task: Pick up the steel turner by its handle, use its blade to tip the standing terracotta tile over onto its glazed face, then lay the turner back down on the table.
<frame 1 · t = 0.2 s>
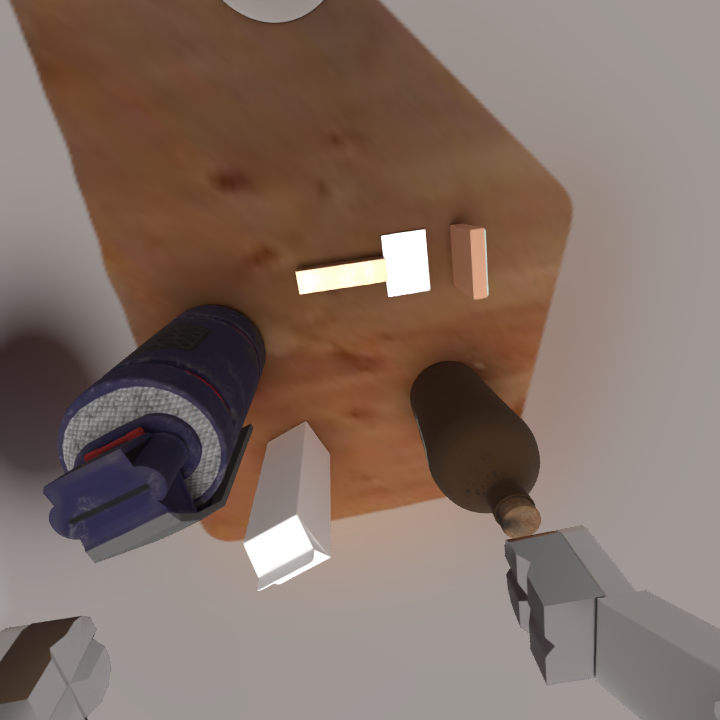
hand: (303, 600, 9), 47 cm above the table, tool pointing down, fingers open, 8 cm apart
milk: (299, 447, 61), on the table
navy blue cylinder: (221, 356, 57), on the table
turner: (367, 268, 54), on the table
tile: (458, 255, 54), on the table
olive oil: (444, 394, 60), on the table
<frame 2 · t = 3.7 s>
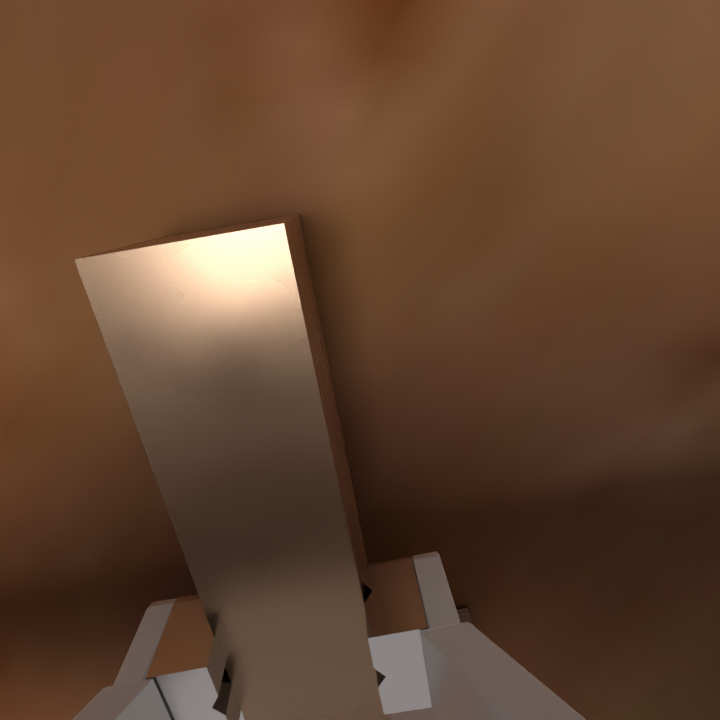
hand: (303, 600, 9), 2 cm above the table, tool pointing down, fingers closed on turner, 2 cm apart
turner: (316, 570, 11), on the table, touching gripper
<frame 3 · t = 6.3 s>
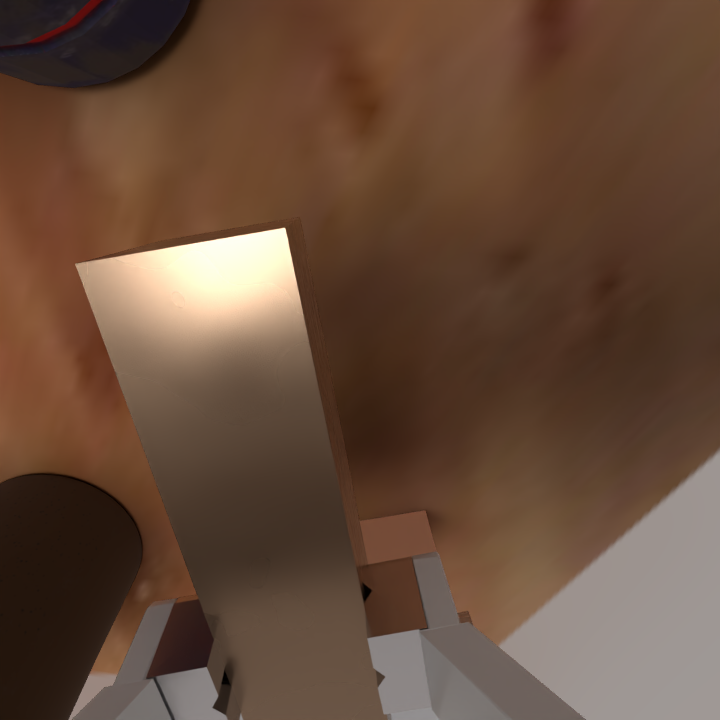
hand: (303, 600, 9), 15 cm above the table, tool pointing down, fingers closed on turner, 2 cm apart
turner: (316, 574, 11), point 14 cm above the table, touching gripper
tile: (368, 530, 27), on the table
olive oil: (61, 537, 27), on the table
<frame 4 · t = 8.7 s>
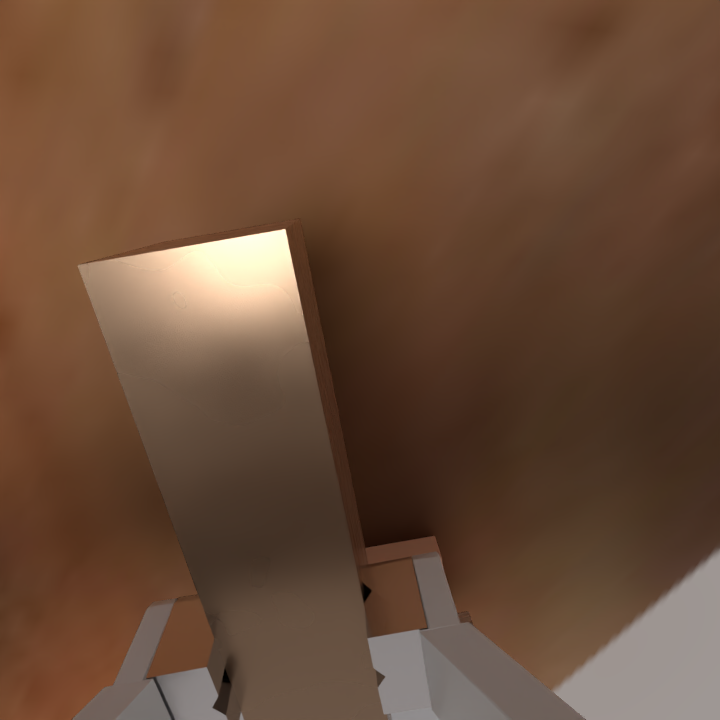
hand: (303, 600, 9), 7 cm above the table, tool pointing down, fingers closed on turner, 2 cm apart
turner: (316, 574, 11), point 5 cm above the table, touching gripper
tile: (343, 558, 17), on the table, tilted 90°
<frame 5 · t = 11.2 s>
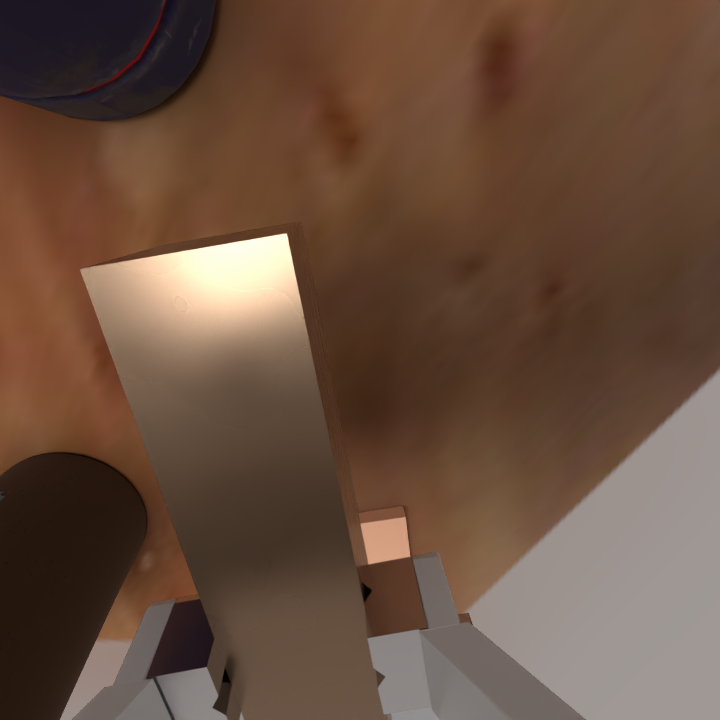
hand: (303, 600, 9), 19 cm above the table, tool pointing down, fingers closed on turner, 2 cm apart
turner: (317, 575, 11), point 17 cm above the table, touching gripper
tile: (351, 516, 31), on the table, tilted 90°
olive oil: (73, 511, 30), on the table
when the fingers open (2 cm above the table, at t = 13.7 s): turner stays where it is, on the table.
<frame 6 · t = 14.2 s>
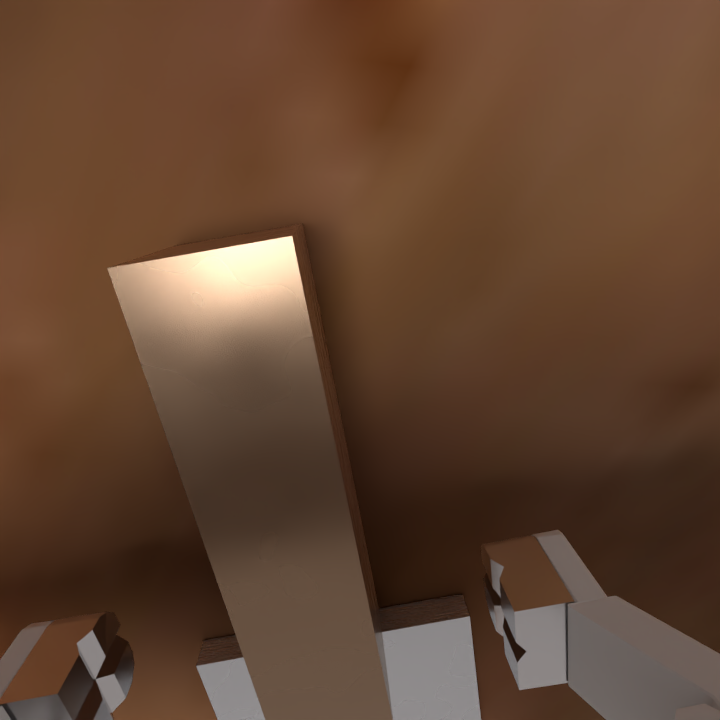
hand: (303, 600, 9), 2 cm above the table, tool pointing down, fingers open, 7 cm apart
turner: (318, 555, 12), on the table
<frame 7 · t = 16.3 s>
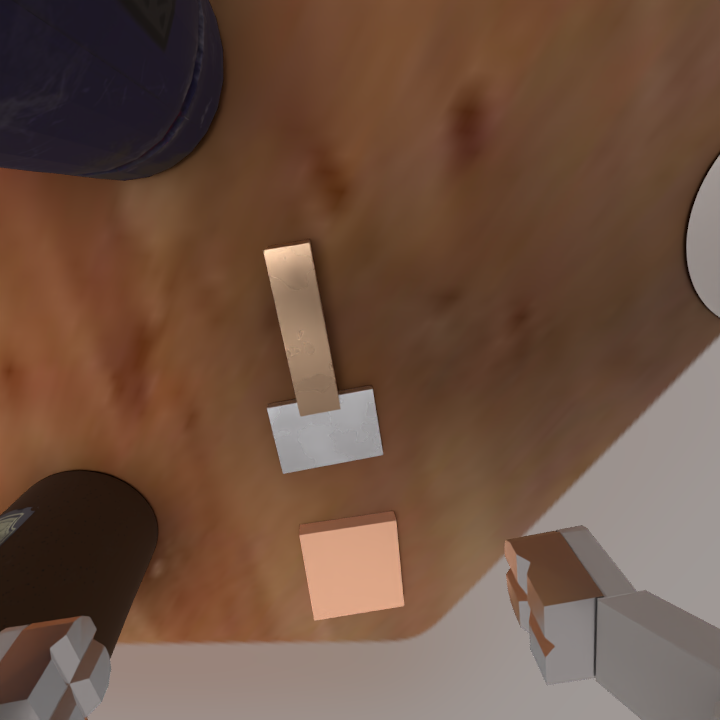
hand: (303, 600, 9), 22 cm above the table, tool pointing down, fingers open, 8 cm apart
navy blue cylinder: (96, 69, 24), on the table
turner: (314, 366, 30), on the table
tile: (347, 520, 34), on the table, tilted 90°
olive oil: (90, 524, 33), on the table
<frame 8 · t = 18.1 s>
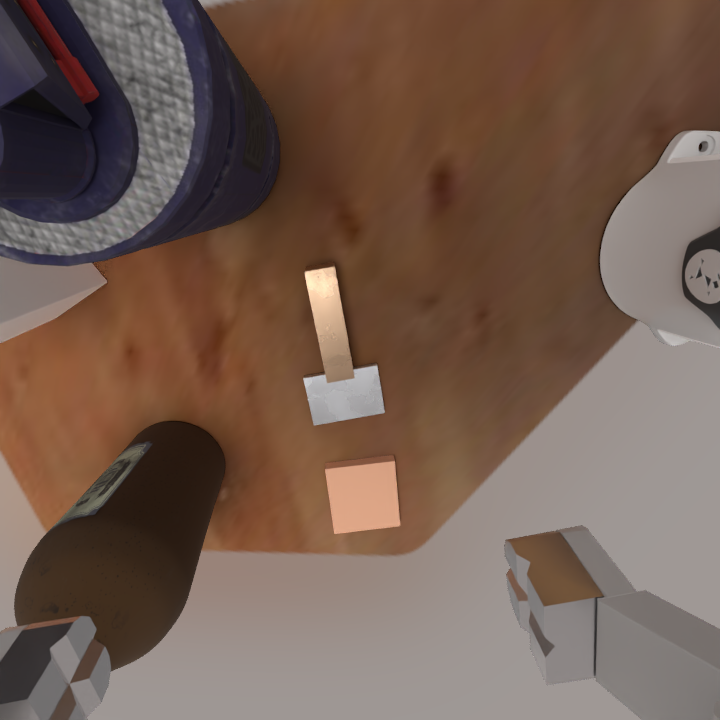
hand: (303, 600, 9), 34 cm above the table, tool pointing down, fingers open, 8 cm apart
milk: (58, 271, 39), on the table
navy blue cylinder: (197, 154, 37), on the table
turner: (336, 349, 43), on the table
tile: (359, 460, 47), on the table, tilted 90°
olive oil: (178, 460, 46), on the table
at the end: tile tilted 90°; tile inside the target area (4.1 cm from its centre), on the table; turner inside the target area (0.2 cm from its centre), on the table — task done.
